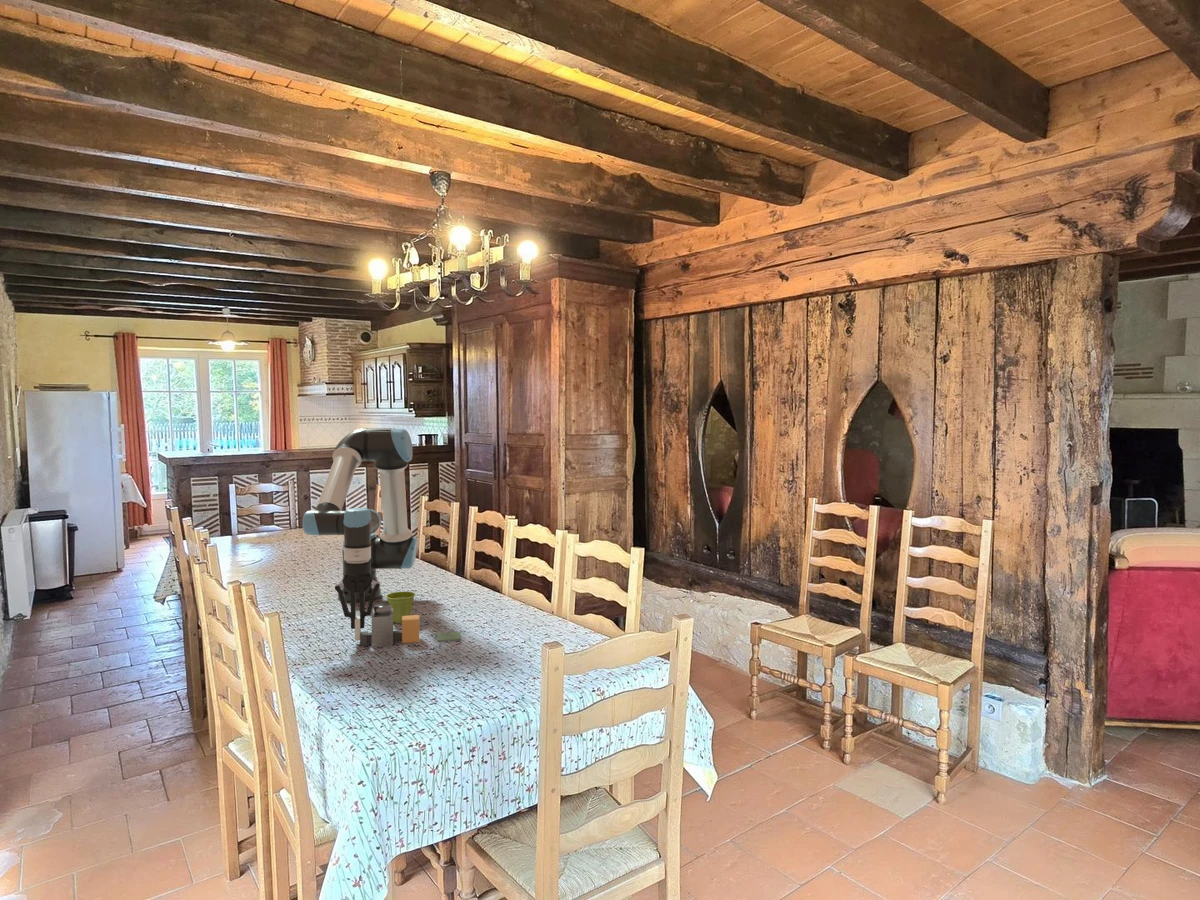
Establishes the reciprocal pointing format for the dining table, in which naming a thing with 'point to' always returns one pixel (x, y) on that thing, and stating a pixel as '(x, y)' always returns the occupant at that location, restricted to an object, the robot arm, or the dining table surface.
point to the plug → (398, 632)
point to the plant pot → (400, 604)
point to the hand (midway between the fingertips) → (357, 639)
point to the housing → (382, 625)
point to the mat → (448, 636)
